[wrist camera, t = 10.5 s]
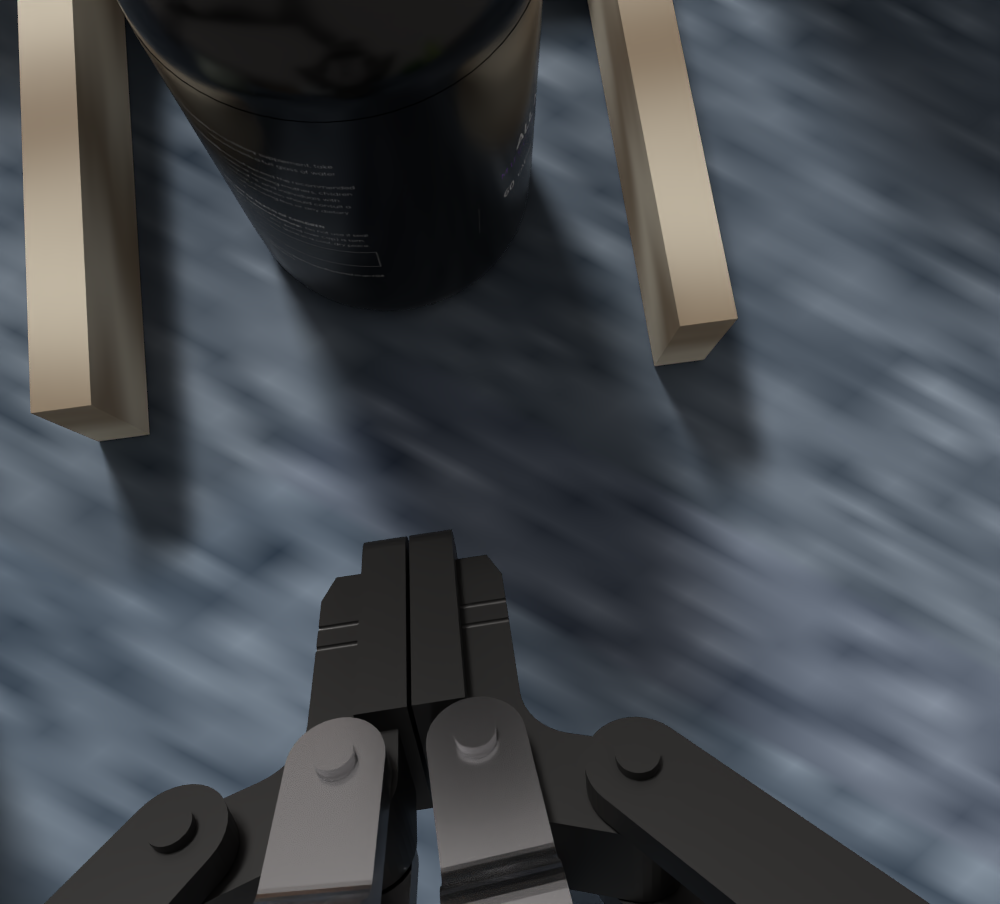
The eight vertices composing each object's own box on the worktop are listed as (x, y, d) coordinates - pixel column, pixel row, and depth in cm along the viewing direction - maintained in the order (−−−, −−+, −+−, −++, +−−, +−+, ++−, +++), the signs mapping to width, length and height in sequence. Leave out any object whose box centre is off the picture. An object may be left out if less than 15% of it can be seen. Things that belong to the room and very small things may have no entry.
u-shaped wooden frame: (703, 359, 20) (737, 318, 17) (98, 441, 19) (30, 413, 16) (612, -107, 22) (629, -210, 19) (74, -44, 22) (12, -139, 19)
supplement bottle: (583, 226, 20) (703, -313, 8) (346, 371, 19) (113, 4, 8) (435, 20, 21) (356, -713, 9) (205, 151, 21) (-189, -466, 9)
